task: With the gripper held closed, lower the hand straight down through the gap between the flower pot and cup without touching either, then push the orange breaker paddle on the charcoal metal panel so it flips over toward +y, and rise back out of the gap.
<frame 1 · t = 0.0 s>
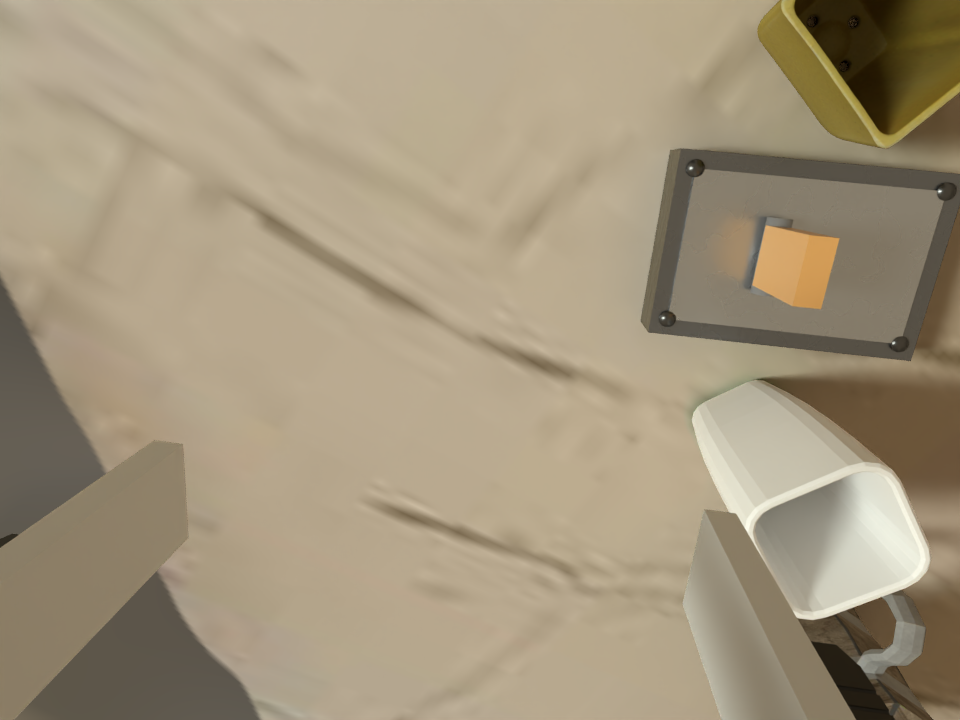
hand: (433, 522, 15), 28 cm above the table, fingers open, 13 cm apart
cup: (739, 422, 43), on the table
panel: (780, 251, 40), on the table
mug: (792, 601, 47), on the table
flower pot: (827, 46, 36), on the table
paddle: (788, 263, 33), point 7 cm above the table, hinge at 0.0°
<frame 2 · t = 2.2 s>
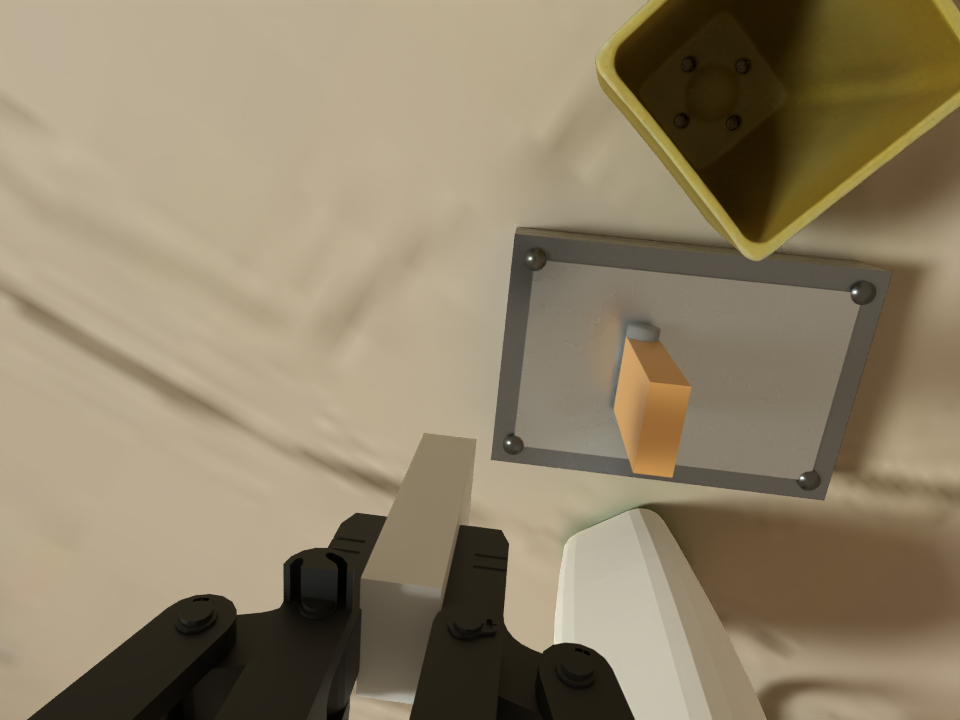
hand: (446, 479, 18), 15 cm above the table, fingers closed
cup: (624, 553, 35), on the table
panel: (663, 353, 31), on the table
flower pot: (711, 96, 27), on the table
paddle: (645, 396, 25), point 7 cm above the table, hinge at 0.0°
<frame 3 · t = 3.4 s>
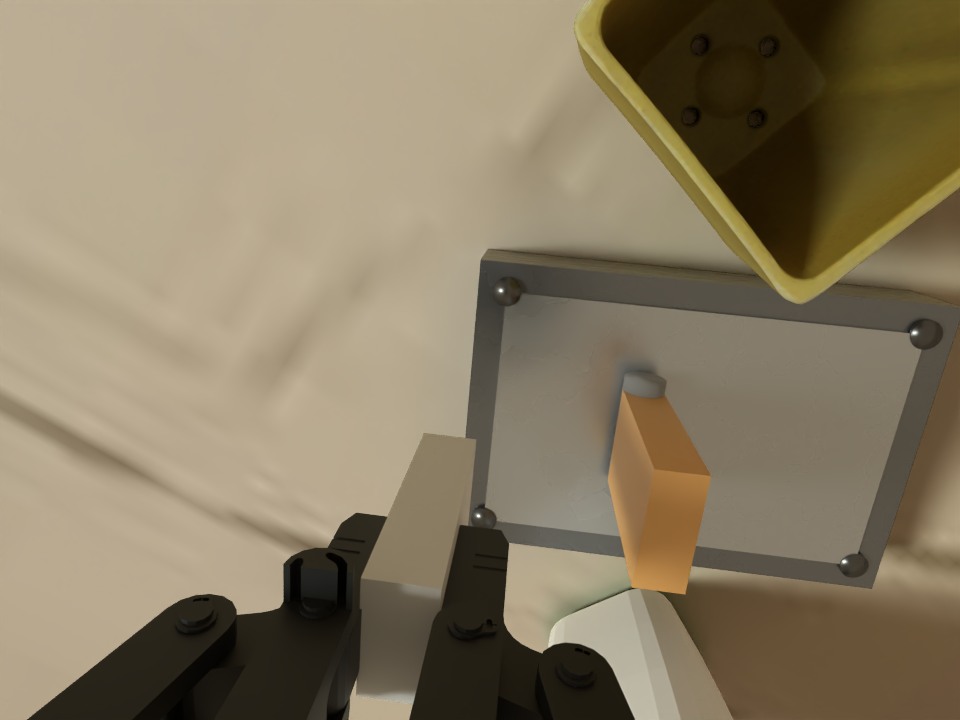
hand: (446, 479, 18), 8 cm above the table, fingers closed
cup: (623, 638, 29), on the table
panel: (669, 403, 25), on the table
flower pot: (728, 86, 22), on the table
paddle: (648, 473, 19), point 7 cm above the table, hinge at 0.0°
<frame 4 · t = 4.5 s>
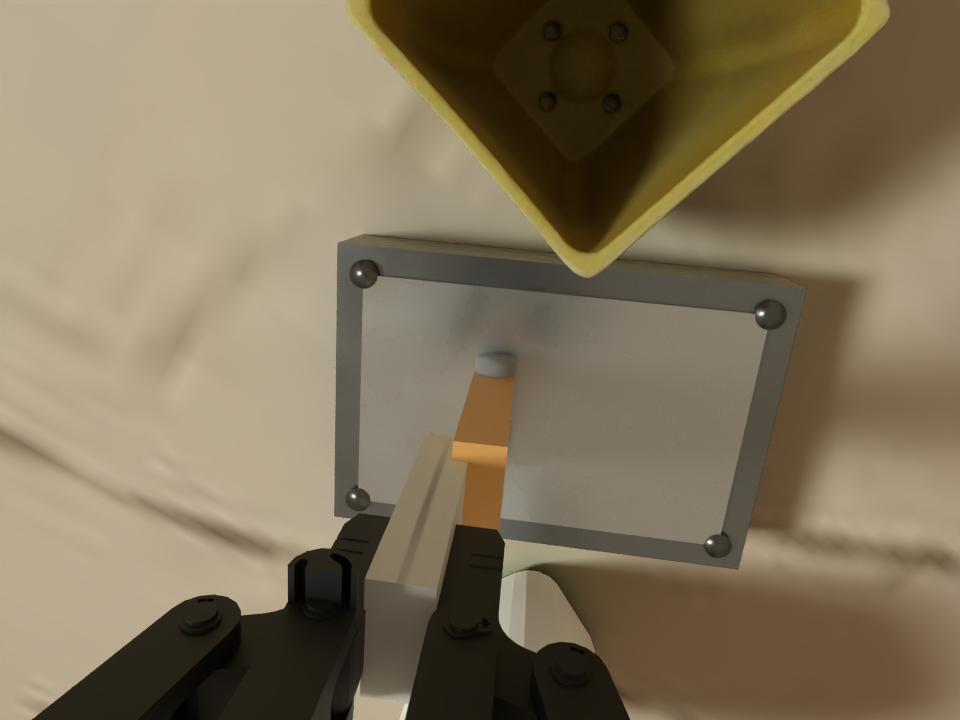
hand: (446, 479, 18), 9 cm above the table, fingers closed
cup: (518, 621, 29), on the table
panel: (547, 386, 26), on the table
flower pot: (585, 72, 22), on the table
paddle: (485, 449, 19), point 7 cm above the table, hinge at 1.2°, touching gripper
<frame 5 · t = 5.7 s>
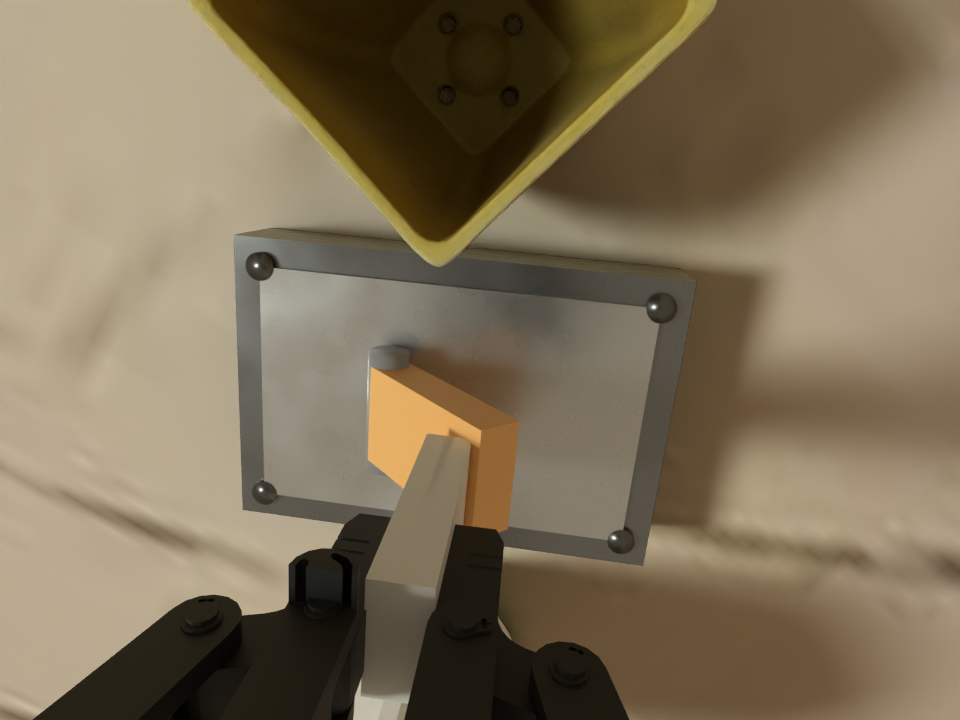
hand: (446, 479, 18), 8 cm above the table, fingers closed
cup: (440, 617, 29), on the table
panel: (458, 381, 25), on the table
flower pot: (484, 65, 22), on the table
paddle: (428, 438, 20), point 6 cm above the table, hinge at 45.4°, touching gripper
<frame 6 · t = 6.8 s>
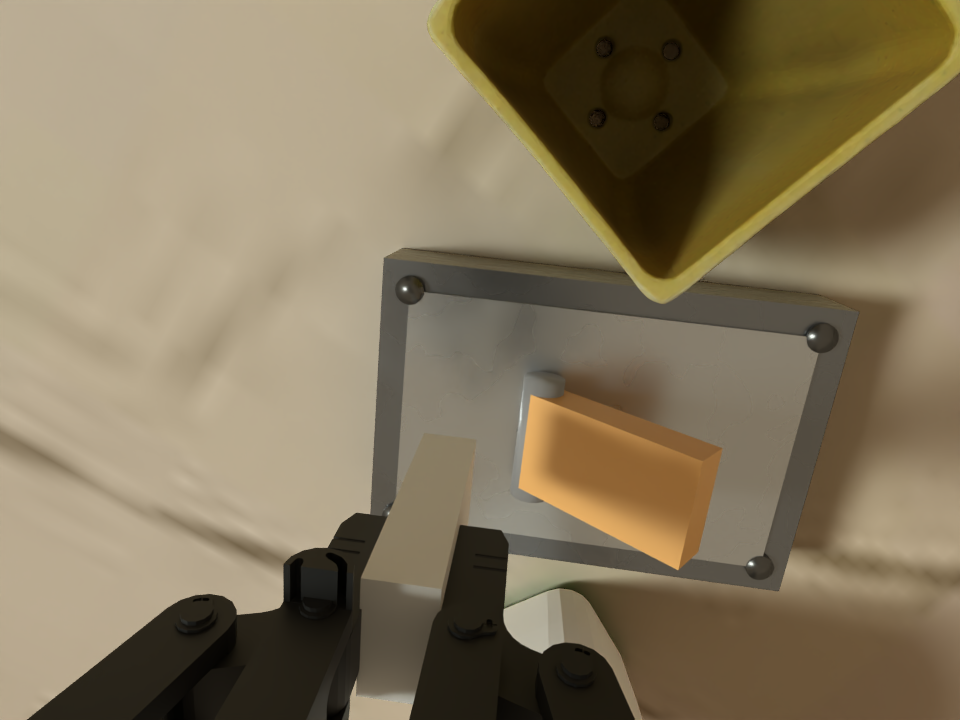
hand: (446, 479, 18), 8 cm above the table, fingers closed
cup: (547, 638, 29), on the table
panel: (585, 404, 25), on the table
flower pot: (635, 89, 22), on the table
paddle: (601, 465, 20), point 6 cm above the table, hinge at 52.7°
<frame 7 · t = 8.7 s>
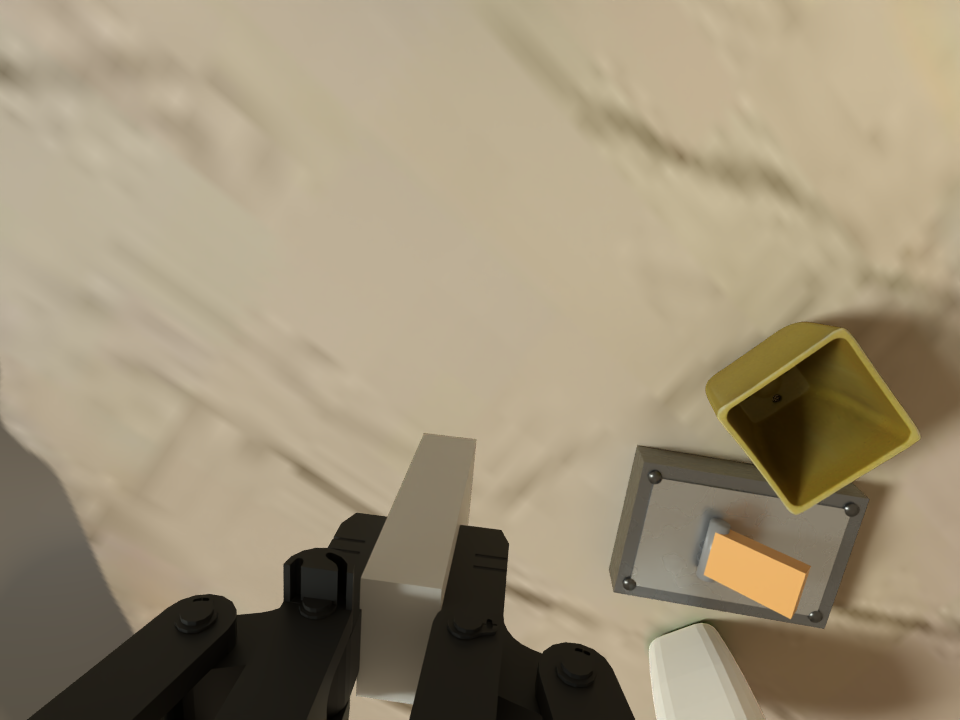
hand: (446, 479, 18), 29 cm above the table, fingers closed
cup: (688, 650, 52), on the table
panel: (724, 526, 48), on the table
flower pot: (763, 381, 45), on the table
paddle: (750, 568, 43), point 6 cm above the table, hinge at 53.5°
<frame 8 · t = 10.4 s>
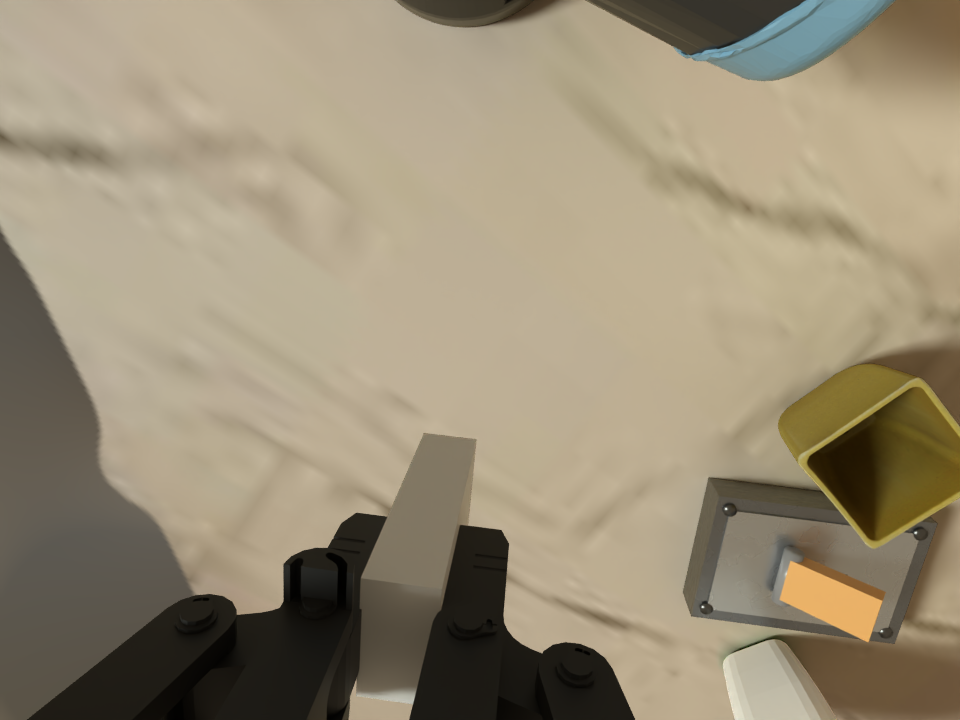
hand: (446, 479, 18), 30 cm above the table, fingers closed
cup: (759, 664, 55), on the table
panel: (793, 549, 51), on the table
flower pot: (830, 413, 47), on the table
paddle: (825, 593, 45), point 6 cm above the table, hinge at 53.6°
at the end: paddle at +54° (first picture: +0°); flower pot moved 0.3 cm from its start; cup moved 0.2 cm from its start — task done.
